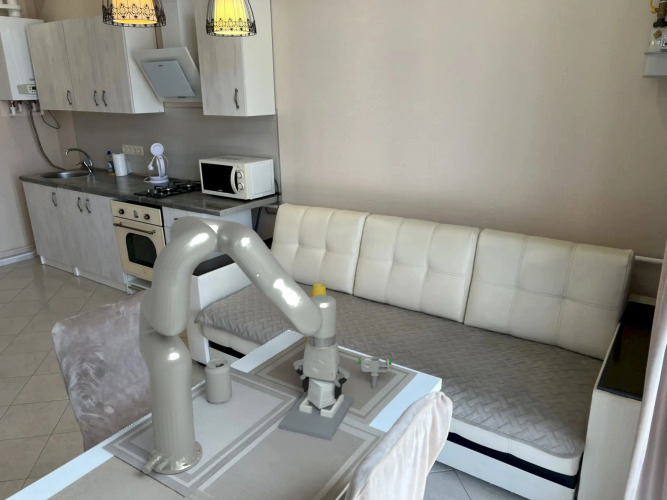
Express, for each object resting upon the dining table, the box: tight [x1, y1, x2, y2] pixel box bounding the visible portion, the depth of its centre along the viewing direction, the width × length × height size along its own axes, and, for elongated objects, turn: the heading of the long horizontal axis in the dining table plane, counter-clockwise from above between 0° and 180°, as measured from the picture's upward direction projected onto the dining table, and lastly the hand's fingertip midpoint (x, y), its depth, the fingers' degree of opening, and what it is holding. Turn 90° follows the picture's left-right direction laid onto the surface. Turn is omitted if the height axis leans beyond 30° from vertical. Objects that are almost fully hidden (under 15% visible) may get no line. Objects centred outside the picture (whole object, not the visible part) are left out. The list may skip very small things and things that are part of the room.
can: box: [204, 357, 233, 405], centre depth 146 cm, size 8×8×12 cm
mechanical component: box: [357, 356, 392, 390], centre depth 153 cm, size 3×10×10 cm, turn 89°
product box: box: [308, 377, 336, 409], centre depth 141 cm, size 6×6×7 cm
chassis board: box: [278, 390, 355, 442], centre depth 140 cm, size 20×15×3 cm
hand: (321, 393), depth 141 cm, fingers open, 9 cm apart
